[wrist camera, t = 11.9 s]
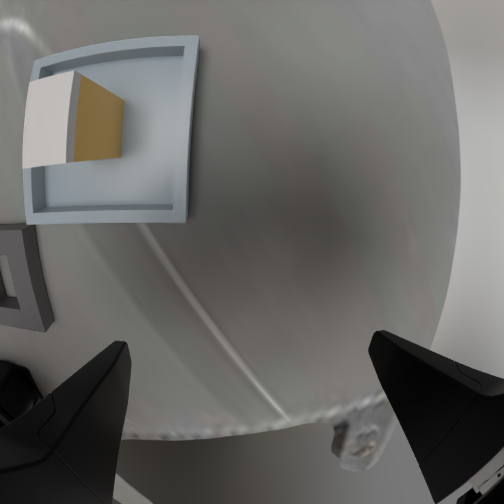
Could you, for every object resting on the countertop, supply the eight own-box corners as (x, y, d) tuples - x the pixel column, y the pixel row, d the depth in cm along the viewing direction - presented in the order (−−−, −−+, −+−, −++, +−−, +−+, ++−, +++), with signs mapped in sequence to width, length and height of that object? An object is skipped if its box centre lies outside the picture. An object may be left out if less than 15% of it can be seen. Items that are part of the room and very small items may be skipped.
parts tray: (188, 214, 19) (185, 223, 17) (42, 216, 17) (26, 224, 15) (199, 49, 15) (199, 35, 13) (50, 67, 13) (34, 60, 11)
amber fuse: (120, 157, 16) (66, 163, 9) (88, 160, 16) (22, 168, 8) (124, 100, 15) (74, 70, 8) (91, 104, 15) (29, 82, 7)
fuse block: (54, 320, 20) (45, 332, 18) (-2, 311, 18) (-11, 321, 17) (34, 223, 17) (21, 229, 15) (-22, 225, 16) (-34, 232, 14)
